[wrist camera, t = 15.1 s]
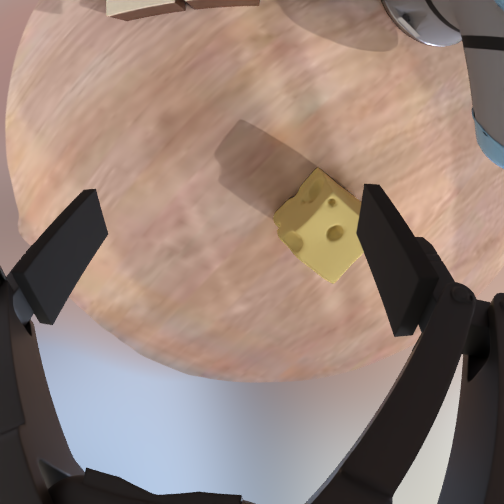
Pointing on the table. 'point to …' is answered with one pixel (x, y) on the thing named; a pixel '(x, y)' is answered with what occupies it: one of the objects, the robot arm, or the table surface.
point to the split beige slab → (164, 7)
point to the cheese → (321, 226)
